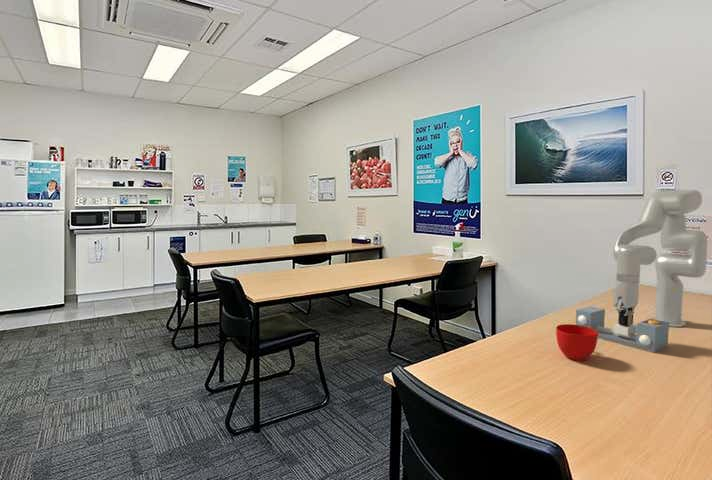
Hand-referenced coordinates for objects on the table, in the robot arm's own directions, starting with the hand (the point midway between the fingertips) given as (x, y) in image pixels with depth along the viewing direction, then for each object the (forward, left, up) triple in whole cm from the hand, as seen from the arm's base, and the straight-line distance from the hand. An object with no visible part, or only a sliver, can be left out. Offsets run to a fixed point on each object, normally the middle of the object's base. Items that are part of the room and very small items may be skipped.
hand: (625, 323), depth 159 cm
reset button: (0, +9, +1) cm, 9 cm away
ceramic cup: (+32, -2, -7) cm, 32 cm away
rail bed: (0, -2, -7) cm, 7 cm away
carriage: (0, 0, -5) cm, 5 cm away
